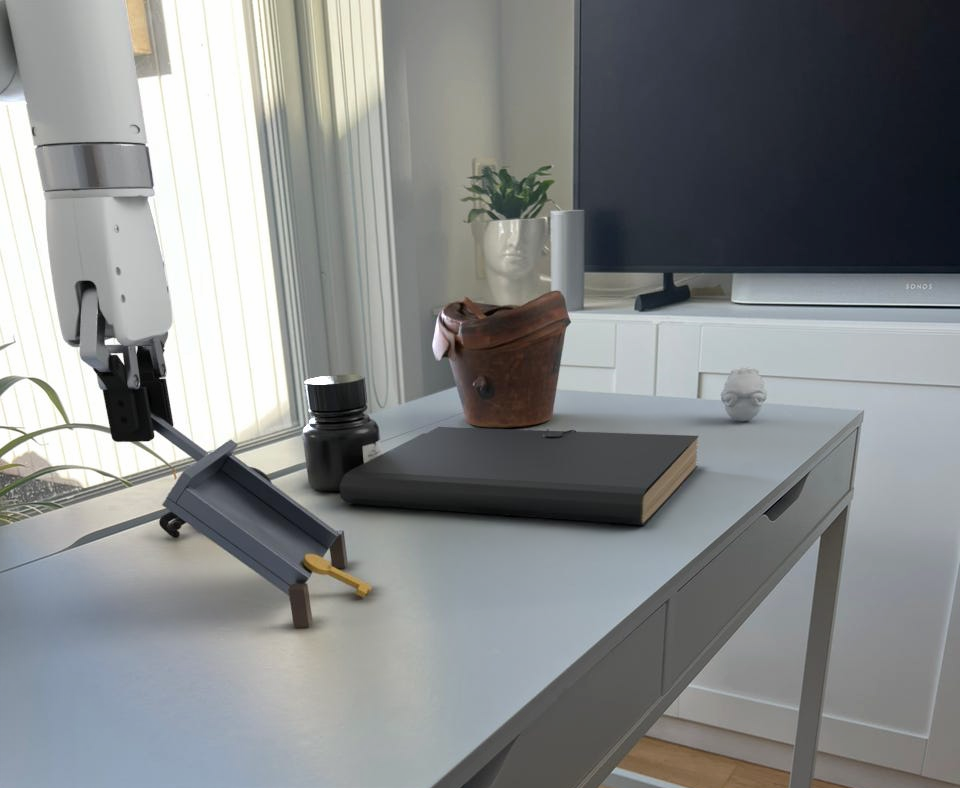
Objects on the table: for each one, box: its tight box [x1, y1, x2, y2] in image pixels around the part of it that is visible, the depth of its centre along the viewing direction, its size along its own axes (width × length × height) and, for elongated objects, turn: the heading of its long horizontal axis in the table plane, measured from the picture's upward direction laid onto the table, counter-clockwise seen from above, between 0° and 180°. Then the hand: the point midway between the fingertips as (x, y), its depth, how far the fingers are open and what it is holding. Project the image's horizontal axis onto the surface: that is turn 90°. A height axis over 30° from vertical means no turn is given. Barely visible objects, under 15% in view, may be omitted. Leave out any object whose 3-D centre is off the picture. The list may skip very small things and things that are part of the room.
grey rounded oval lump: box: [720, 367, 768, 422], centre depth 130 cm, size 6×7×7 cm
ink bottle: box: [301, 374, 383, 492], centre depth 111 cm, size 10×9×12 cm
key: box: [303, 554, 373, 599], centre depth 79 cm, size 6×3×1 cm, turn 87°
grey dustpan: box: [140, 386, 339, 597], centre depth 76 cm, size 20×11×4 cm
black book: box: [339, 426, 700, 526], centre depth 106 cm, size 33×4×24 cm
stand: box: [288, 530, 349, 629], centre depth 79 cm, size 1×14×3 cm, turn 175°
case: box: [432, 289, 572, 428], centre depth 138 cm, size 18×20×18 cm
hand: (143, 433), depth 75 cm, fingers closed on grey dustpan, 3 cm apart
